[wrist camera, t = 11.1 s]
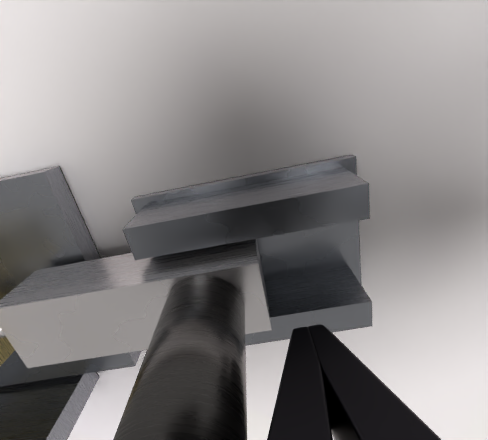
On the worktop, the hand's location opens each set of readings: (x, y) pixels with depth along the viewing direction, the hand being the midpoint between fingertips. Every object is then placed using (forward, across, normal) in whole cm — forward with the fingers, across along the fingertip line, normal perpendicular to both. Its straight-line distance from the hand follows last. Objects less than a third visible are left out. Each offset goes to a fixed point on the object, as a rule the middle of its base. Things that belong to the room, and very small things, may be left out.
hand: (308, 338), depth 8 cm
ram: (+4, +7, 0) cm, 8 cm away
